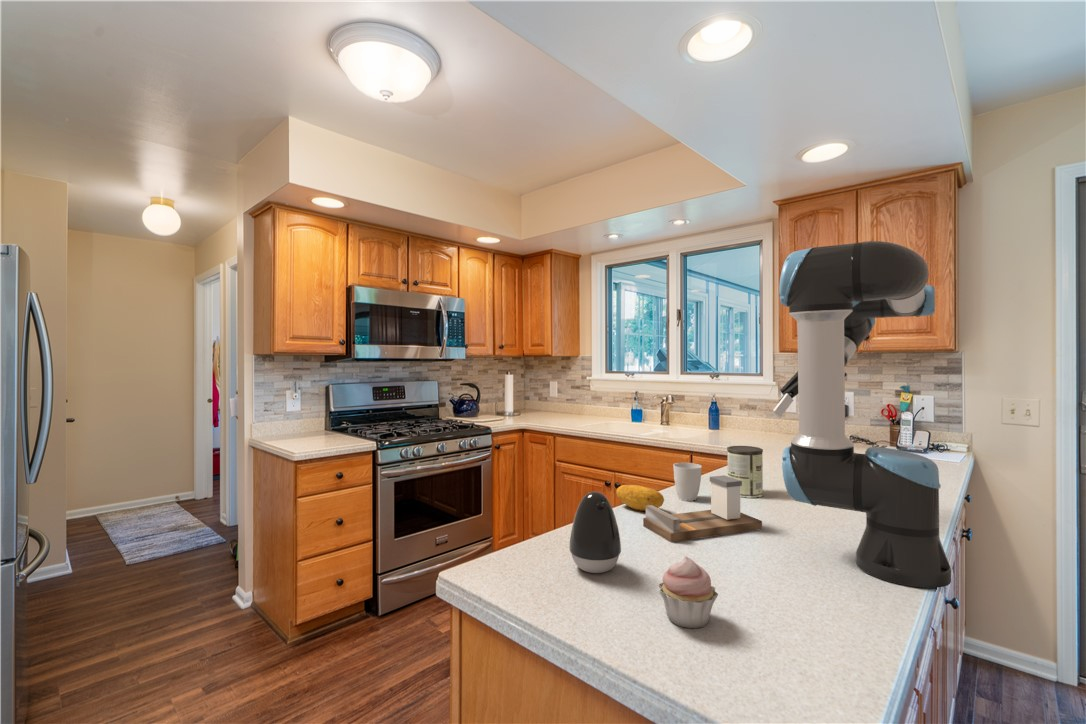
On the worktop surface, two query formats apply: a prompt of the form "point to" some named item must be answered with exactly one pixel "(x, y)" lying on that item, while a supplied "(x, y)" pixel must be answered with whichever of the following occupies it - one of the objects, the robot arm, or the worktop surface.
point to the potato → (639, 497)
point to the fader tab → (725, 496)
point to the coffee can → (746, 469)
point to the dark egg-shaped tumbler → (595, 535)
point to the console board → (695, 524)
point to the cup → (687, 480)
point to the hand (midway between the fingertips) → (788, 415)
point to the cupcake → (687, 594)
